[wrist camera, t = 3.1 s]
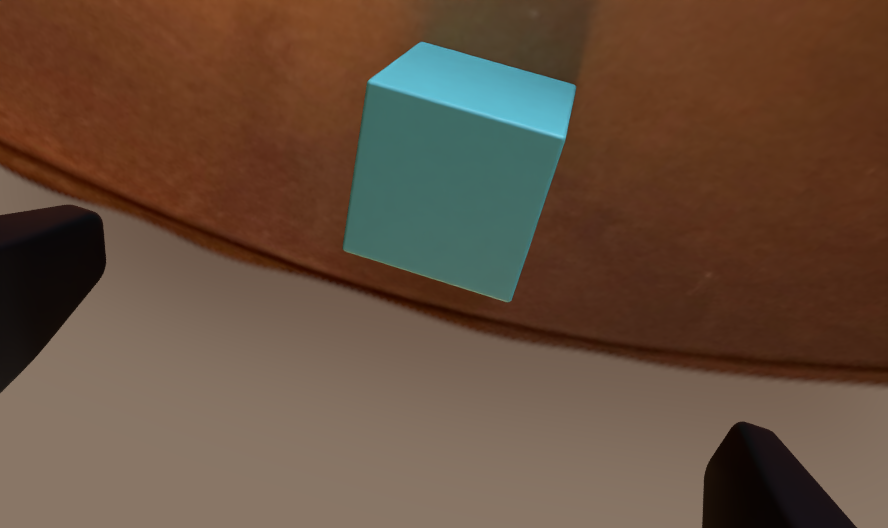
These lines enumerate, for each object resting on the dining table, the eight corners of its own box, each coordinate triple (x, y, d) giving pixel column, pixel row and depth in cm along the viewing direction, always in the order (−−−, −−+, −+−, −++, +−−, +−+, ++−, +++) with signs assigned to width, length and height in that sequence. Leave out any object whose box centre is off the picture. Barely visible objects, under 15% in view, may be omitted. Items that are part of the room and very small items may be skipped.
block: (577, 84, 15) (566, 137, 12) (530, 226, 17) (510, 305, 14) (420, 40, 16) (366, 79, 12) (392, 184, 18) (340, 251, 14)
